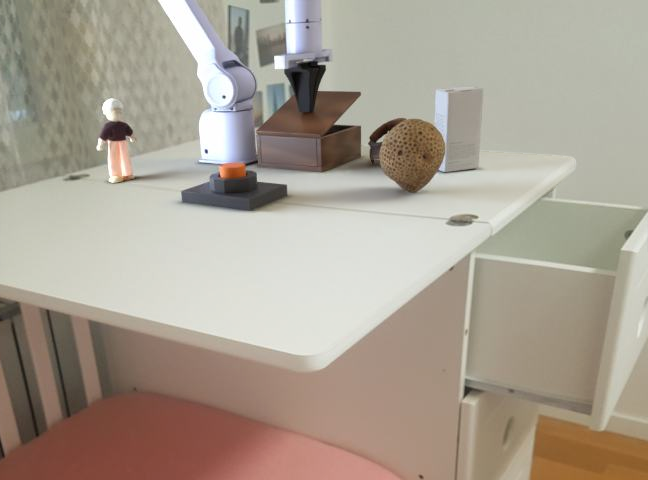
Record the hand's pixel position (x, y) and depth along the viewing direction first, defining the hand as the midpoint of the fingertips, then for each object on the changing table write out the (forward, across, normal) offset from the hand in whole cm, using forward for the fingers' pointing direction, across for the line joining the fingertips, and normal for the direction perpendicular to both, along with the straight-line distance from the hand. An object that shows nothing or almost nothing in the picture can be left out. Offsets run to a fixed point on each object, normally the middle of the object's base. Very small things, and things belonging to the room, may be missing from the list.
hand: (306, 111), depth 119 cm
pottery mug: (+9, +5, -15) cm, 18 cm away
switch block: (+8, -26, -4) cm, 28 cm away
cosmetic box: (+9, +4, -25) cm, 27 cm away
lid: (+1, +1, 0) cm, 1 cm away
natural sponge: (+9, -13, -25) cm, 30 cm away
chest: (+8, +1, 0) cm, 8 cm away
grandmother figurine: (+9, -22, +22) cm, 32 cm away
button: (+5, -26, -4) cm, 27 cm away
